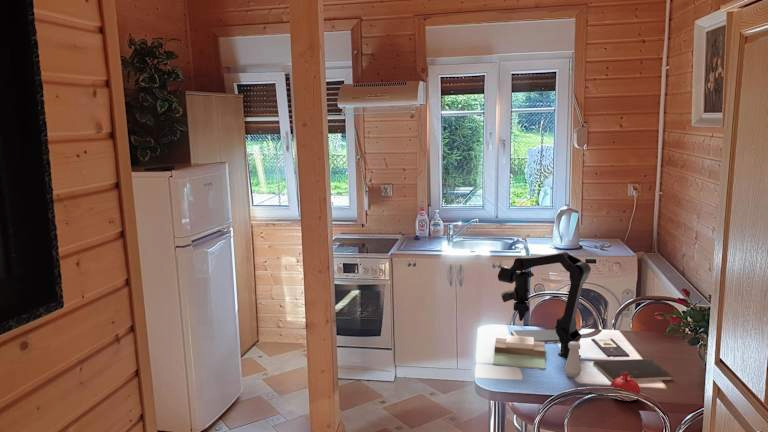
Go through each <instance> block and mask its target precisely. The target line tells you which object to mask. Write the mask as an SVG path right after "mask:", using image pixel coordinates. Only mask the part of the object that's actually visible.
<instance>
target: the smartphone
mask: <svg viewBox="0 0 768 432" xmlns="http://www.w3.org/2000/svg"><path fill="white" fill-rule="evenodd" d="M510 334H511V336H523V337H534V341H540V342H560V340H559V337H558V335H557V334H556V329H522V330H521V329H515V330H513V329H511V331H510ZM579 341H580V342H581V339H580V340H578V341H577V342H578V343H580V342H579Z"/></svg>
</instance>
